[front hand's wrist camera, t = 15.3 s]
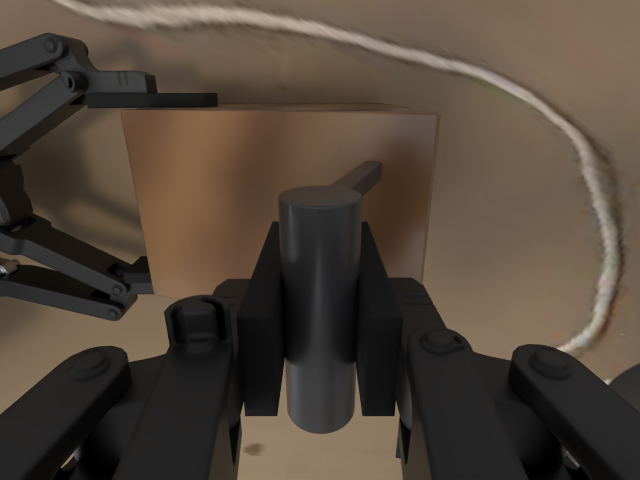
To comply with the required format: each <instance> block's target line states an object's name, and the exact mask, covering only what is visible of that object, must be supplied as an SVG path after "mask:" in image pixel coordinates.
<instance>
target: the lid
mask: <svg viewBox="0 0 640 480" xmlns="http://www.w3.org/2000/svg"><path fill="white" fill-rule="evenodd" d="M120 112H121V117H122V123H123V128H124V133H125V139H126V144H127V150H128V155H129V161H130V166H131V171H132V177H133V182H134V188H135V193H136V199H137V204H138V209H139V215H140V220H141V226H142V231H143V237H144V242H145V247H146V253H147V258H148V264H149V269H150V274H151V280H152V285H153V291H154V294H158V295H162V296H167V297H172V298H177V299H184V298H187V297H190V296H196V295H203V294H204V295H212V294H213V292H214V290H215V288H216V287H217V286H218V285H219V284H221V283H222V282H224V281H225V280H226V279H251V277H252V274H253V272H254V269H255V266H256V264H257V261H258V258H259V256H260V253H261V250H262V248H263V245H264V242H265V240H266V237H267V234H268V232H269V229H270V226H271V224H272V221H279V236H280V258H281V277H282V300H283V323H284V346H285V368H286V390H287V410H288V414H289V417H290V418H291V420H292V421H293V422H294V424H296V425H297V426H298V427H299V428H301V429H303V430H305V431H308V432H311V433H317V434H325V433H331V432H334V431H337V430H339V429H341V428H342V427H344V426H345V425H346V424H347V423H348V422H349V421H350V420H351V418H352V416H353V414H354V409H355V385H356V363H355V356H356V331H357V306H358V281H359V274H360V254H361V227H362V221H367V222H368V225H369V227H370V230H371V233H372V235H373V238H374V241H375V243H376V246H377V249H378V251H379V254H380V257H381V259H382V262H383V265H384V267H385V270H386V273H387V275H388V278H414V279H415V280H416V281H418V282H419V283H421V284H422V283H423V273H424V264H425V254H426V245H427V235H428V226H429V217H430V207H431V198H432V188H433V179H434V169H435V160H436V150H437V141H438V131H439V122H440V112H399V111H305V110H212V109H123V110H120Z"/></svg>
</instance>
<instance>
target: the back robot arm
mask: <svg viewBox="0 0 640 480" xmlns="http://www.w3.org/2000/svg"><path fill="white" fill-rule="evenodd" d="M52 72H55V73H58V74H60V75H59V76H58V77H56V78H55V79H54V80H53V81H51V82H50V83H49V84H47V85H46V86H45V87H43V88H42V89H41V90H39V91H38V92H37V93H35V94H34V95H33V96H31V97H30V98H29V99H27V100H26V101H25V102H23V103H22V104H21V105H19V106H18V107H17V108H15V109H14V110H13V111H11V112H10V113H9V114H7V115H6V116H5V117H3V118H2V119H1V120H0V251H2V252H4V253H7V254H10V255H23V256H26V257H28V258H30V259H32V260H35V261H37V262H39V263H41V264H43V265H46V266H48V267H50V268H52V269H54V270H51V269H47V268H43V267H38V266H33V265H20V262H19V261H18V260H17V259H13V260H9V259H3V258H1V257H0V296H9V297H13V298H17V299H21V300H26V301H30V302H34V303H39V304H43V305H47V306H51V307H56V308H60V309H64V310H68V311H73V312H77V313H81V314H86V315H90V316H94V317H98V318H103V319H107V320H111V321H117V320H119V319H121V318H122V316H123V315H124V314H125V313H126V312H127V311H128V310H129V308H130V307H131V306H132V305H133V304H134V303H135V301H136V300H137V294H154V291H153V285H152V280H151V274H150V269H149V264H148V258H147V256H141V257H140V258H139V259H138V260H137V261H136V262H134V263H133V264H132V265H131V264H129V263H127V262H125V261H123V260H120V259H118V258H116V257H114V256H112V255H110V254H108V253H106V252H104V251H102V250H99V249H97V248H95V247H93V246H91V245H89V244H87V243H85V242H83V241H80V240H78V239H76V238H74V237H72V236H70V235H68V234H66V233H64V232H61V231H59V230H57V229H55V228H53V227H52V226H51V223H50V222H49V221H48V220H46V219H44V218H42V217H40V216H37V215H35V214H33V213H31V212H33V208H32V205H31V202H30V199H29V197H28V196H27V194H26V192H25V190H24V187H23V174H22V170H21V167H20V165H15V164H14V162H13V160H14V159H16V158H17V157H19V156H20V155H21V154H23V153H24V152H26V151H27V150H28V149H29V148H30V145H31V144H33V143H34V142H35V141H37V140H38V139H39V138H41V137H42V136H44V135H45V134H46V133H48V132H49V131H51V130H52V129H53V128H55V127H56V126H57V125H59V124H60V123H62V122H63V121H64V120H66V119H67V118H69V117H70V116H71V115H73V114H74V113H76V112H77V111H78V110H80V109H81V108H82V107H84V106H85V105H87V106H88V108H185V107H214V106H218V99H217V93H157V87H156V80H155V76H154V75H152V74H149V73H147V72H141V71H99V70H97V69H96V68H95V67H94V66H93V65H92V63H91V62H90V60H89V58H88V48H87V46H86V45H85V43H83V42H82V41H81V40H78V39H74V38H70V37H65V36H61V35H57V34H52V33H44V34H42V35H39V36H36V37H34V38H31V39H28V40H25V41H23V42H20V43H17V44H15V45H12V46H9V47H6V48H4V49H1V50H0V91H2V90H5V89H7V88H10V87H13V86H16V85H19V84H21V83H24V82H27V81H30V80H33V79H35V78H38V77H41V76H44V75H47V74H49V73H52ZM55 270H57V271H55Z"/></svg>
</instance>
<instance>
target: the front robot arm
mask: <svg viewBox="0 0 640 480" xmlns="http://www.w3.org/2000/svg"><path fill="white" fill-rule="evenodd" d="M164 315H165V320H166V326H167V332H168V338H169V344H170V346H169V348H168V351H167V353H166V354H163V355H160V356H156V357H153V358H148V359H143V360H138V361H133V362H129V361H128V356H127V353H126V352H125V351H124V350H123V349H122V348H118V347H114V346H99V347H94V348H90V349H86V350H84V351H82V352H79V353H77V354H75V355H72V356H71V357H69V358H68V359H66V360H65V361H63V362H62V363H60V364H59V365H58V366H57V367H56V368H54V369H53V370H52V371H51V372H50V373H49V374H47V375H46V376H45V377H44V378H43V379H42V380H40V381H39V382H38V383H37V384H36V385H34V386H33V387H32V388H31V389H30V390H29V391H27V392H26V393H25V394H24V395H23V396H22V397H20V398H19V399H18V400H17V401H16V402H15V403H13V404H12V405H11V406H10V407H9V408H7V409H6V410H5V411H4V412H3V413H2V414H0V480H237V475H238V465H239V456H240V447H241V437H242V429H241V419H240V414H241V410H242V406H243V402H244V407H245V416H277V413H278V406H279V398H280V391H281V383H282V375H283V368H284V360H285V346H284V323H283V300H282V277H281V258H280V236H279V221H272V224H271V226H270V229H269V232H268V234H267V237H266V240H265V242H264V245H263V248H262V250H261V253H260V256H259V258H258V261H257V264H256V266H255V269H254V272H253V274H252V277H251V279H226V280H225V281H224V282H222V283H221V284H219V285H218V286H217V287H216V288H215V290H214V292H213V294H212V295H204V294H203V295H196V296H190V297H187V298H184V299H181V300H178V301H177V302H175V303H173V304H171V305H170V306H169V307H168V308H167V309H166V310H165V311H164ZM355 363H356V370H357V378H358V386H359V393H360V401H361V408H362V416H394V414H395V403H396V402H397V406H398V410H399V414H400V419H399V429H398V439H397V449H396V458H401V465H402V474H403V480H640V412H639V411H638V410H636V409H635V408H634V407H633V406H632V405H630V404H629V403H628V402H627V401H626V400H625V399H623V398H622V397H621V396H620V395H619V394H618V393H616V392H615V391H614V390H613V389H612V388H610V387H609V386H608V385H607V384H606V383H604V382H603V381H602V380H601V379H600V378H599V377H597V376H596V375H595V374H594V373H593V372H591V371H590V370H589V369H588V368H587V367H586V366H584V365H583V364H582V363H581V362H580V361H578V360H577V359H575V358H574V357H572V356H571V355H569V354H567V353H565V352H563V351H560V350H558V349H556V348H553V347H550V346H545V345H536V344H527V345H523V346H519V347H517V348H516V349H515V350H514V351H513V354H512V359H511V361H510V360H505V359H500V358H495V357H490V356H486V355H482V354H478V353H476V352H473V350H472V348H471V346H470V344H469V343H468V341H467V340H466V339H465V338H464V337H463V336H461V335H460V334H459V333H457V332H455V331H453V330H450V329H447V328H446V326H445V324H444V322H443V320H442V319H441V317H440V315H439V313H438V311H437V309H436V308H435V306H434V305H433V302H432V300H431V298H430V297H429V295H428V293H427V291H426V289H425V287H424V286H423V285H422V284H421V283H419V282H418V281H416V280H415V279H414V278H388V275H387V273H386V270H385V267H384V265H383V262H382V259H381V257H380V254H379V251H378V249H377V246H376V243H375V241H374V238H373V235H372V233H371V230H370V227H369V225H368V222H367V221H362V227H361V254H360V274H359V281H358V306H357V331H356V356H355ZM72 453H73V454H74V456H73V458H72V459H71V460H70V461H69V462H68V463H67V464H66V465H65V466H64V467H63V468H62V469H61V466H62V465H63V464H64V463H65V462H66V460H67V459H68V458H69V457H70V456H71V454H72Z"/></svg>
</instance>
